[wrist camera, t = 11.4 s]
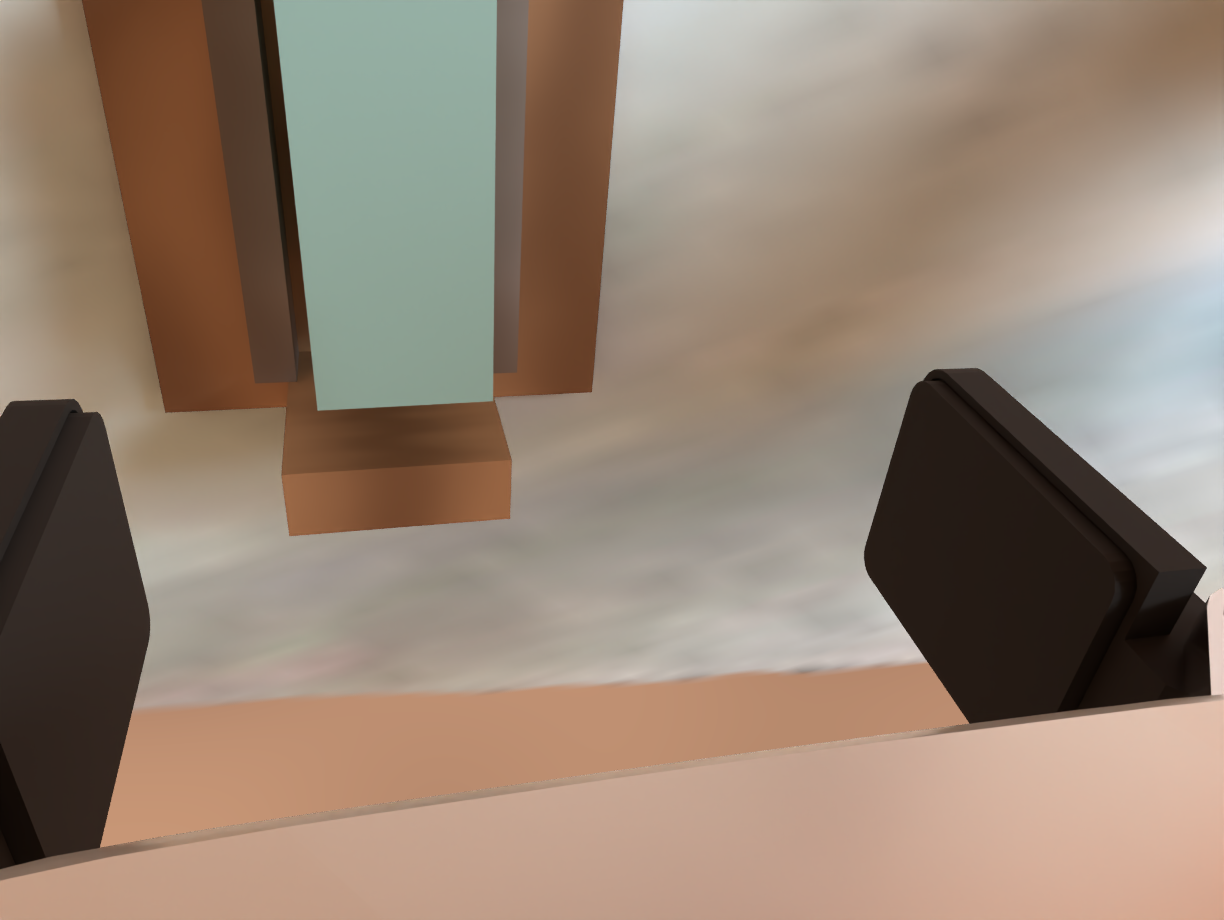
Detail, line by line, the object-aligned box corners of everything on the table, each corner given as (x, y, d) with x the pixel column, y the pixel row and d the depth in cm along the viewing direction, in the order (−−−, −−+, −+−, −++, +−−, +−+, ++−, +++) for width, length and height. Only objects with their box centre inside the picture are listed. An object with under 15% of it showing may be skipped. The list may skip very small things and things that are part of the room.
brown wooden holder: (639, -329, 24) (754, -383, 17) (585, 378, 35) (644, 507, 28) (8, -421, 20) (-142, -530, 14) (169, 397, 31) (128, 548, 25)
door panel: (447, -112, 24) (497, -81, 17) (453, 258, 30) (493, 401, 23) (283, -125, 23) (263, -97, 16) (320, 260, 29) (317, 410, 22)
